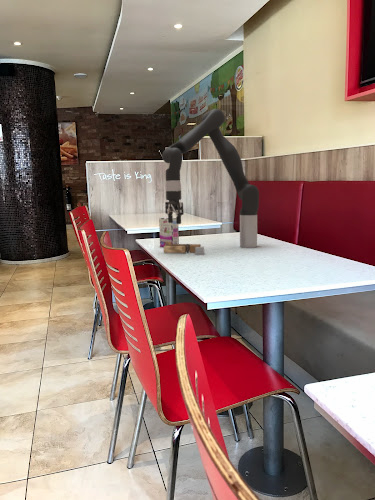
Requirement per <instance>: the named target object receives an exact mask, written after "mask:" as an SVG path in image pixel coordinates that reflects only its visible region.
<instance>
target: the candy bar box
mask: <svg viewBox="0 0 375 500" xmlns="http://www.w3.org/2000/svg"><path fill="white" fill-rule="evenodd" d="M158 220H159V221H158V222H159V225H158V226H159V247H160V248H163V249H164V246H166V244H179V243H180V242H179V241H180V240H179V237H180V236H179V235H180V234H179V232H180V231H179V230H180V229H179V224H177V223H176V217H173V222H172V223H169V222H168V216H167V217H159V219H158Z"/></svg>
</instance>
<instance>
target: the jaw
mask: <svg viewBox="0 0 375 500" xmlns="http://www.w3.org/2000/svg"><path fill="white" fill-rule="evenodd" d="M163 253H165V254H167V253H170V254H171V253H175V254H176V253H182V254H187V253H186V246H164V248H163Z"/></svg>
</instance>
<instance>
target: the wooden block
mask: <svg viewBox="0 0 375 500" xmlns="http://www.w3.org/2000/svg"><path fill="white" fill-rule="evenodd" d="M201 245H202V244H201V243H198V244H197V243H192V244H191V243H180V244H166V246H186V253H185V254H189V253H190V254H191V253H193V254H195V248H196V247H202V246H201Z"/></svg>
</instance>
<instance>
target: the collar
mask: <svg viewBox="0 0 375 500" xmlns="http://www.w3.org/2000/svg"><path fill="white" fill-rule="evenodd" d="M194 254H195V255H194V256H202V255H203V256H204V255H205V246H201V247H196V248H195V253H194Z"/></svg>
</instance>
